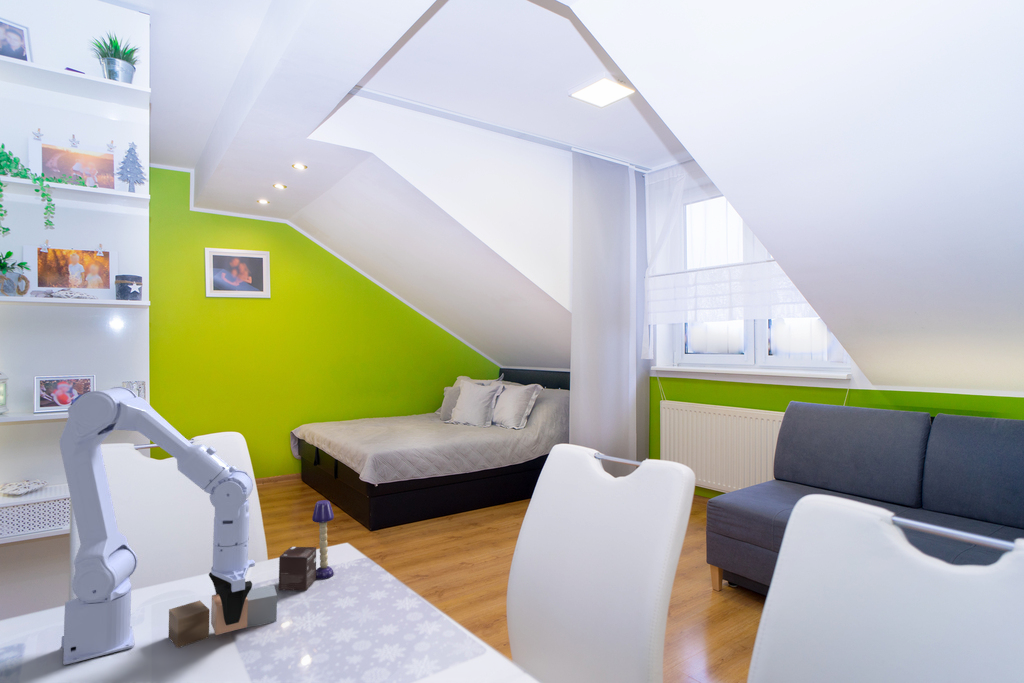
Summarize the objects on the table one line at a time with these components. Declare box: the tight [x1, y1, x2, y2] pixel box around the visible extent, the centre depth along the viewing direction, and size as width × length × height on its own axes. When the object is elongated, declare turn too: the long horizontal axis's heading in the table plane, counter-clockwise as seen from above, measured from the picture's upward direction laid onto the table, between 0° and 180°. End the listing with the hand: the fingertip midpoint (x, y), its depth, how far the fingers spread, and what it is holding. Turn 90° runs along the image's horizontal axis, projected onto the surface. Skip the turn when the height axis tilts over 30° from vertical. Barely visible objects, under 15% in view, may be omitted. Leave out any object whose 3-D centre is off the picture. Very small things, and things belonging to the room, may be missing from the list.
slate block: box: [246, 584, 278, 628], centre depth 107 cm, size 5×5×5 cm
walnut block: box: [168, 600, 210, 649], centre depth 100 cm, size 5×5×5 cm
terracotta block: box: [210, 593, 248, 636], centre depth 101 cm, size 5×5×5 cm
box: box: [278, 546, 317, 592], centre depth 122 cm, size 6×6×7 cm
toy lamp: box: [311, 499, 335, 580], centre depth 127 cm, size 5×5×17 cm
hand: (229, 616), depth 101 cm, fingers closed on terracotta block, 5 cm apart
